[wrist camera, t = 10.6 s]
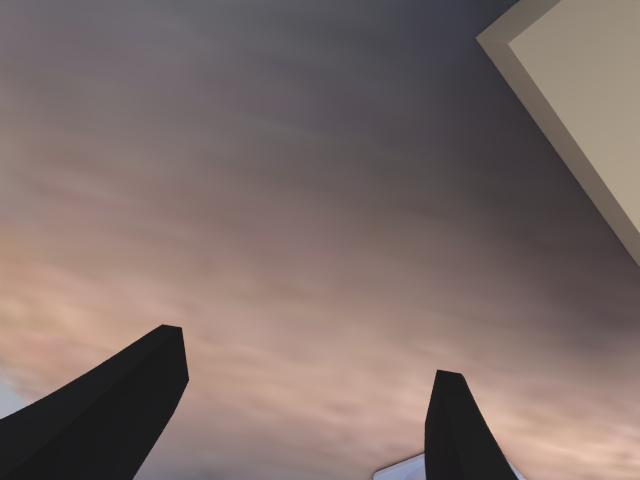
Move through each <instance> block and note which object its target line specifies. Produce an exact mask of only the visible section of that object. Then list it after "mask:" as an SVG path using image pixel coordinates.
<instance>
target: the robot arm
mask: <svg viewBox="0 0 640 480" xmlns="http://www.w3.org/2000/svg"><path fill="white" fill-rule="evenodd" d="M188 381H189V376H188V369H187V361H186V354H185V347H184V340H183V332H182V328H181V327H175V326H169V325H163V324H162V325H161V326H159V327H157V328H156V329H154V330H152V331H151V332H149V333H148V334H146V335H145V336H143V337H142V338H140V339H139V340H137V341H136V342H134V343H132V344H131V345H129V346H128V347H126V348H125V349H123V350H122V351H120V352H119V353H117V354H116V355H114V356H112V357H111V358H109V359H108V360H106V361H105V362H103V363H102V364H100V365H98V366H97V367H95V368H94V369H92V370H90V371H89V372H87V373H85V374H84V375H82V376H80V377H79V378H77V379H75V380H73V381H72V382H70V383H68V384H67V385H65V386H63V387H62V388H60V389H58V390H57V391H55V392H53V393H51V394H49V395H48V396H46V397H44V398H42V399H40V400H38V401H36V402H35V403H33V404H31V405H29V406H27V407H25V408H23V409H21V410H19V411H17V412H15V413H13V414H11V415H9V416H7V417H5V418H3V419H0V480H132V479H133V478H134V476H135V475H136V473H137V471H138V470H139V468H140V467H141V465H142V463H143V462H144V460H145V459H146V457H147V456H148V454H149V452H150V451H151V449H152V448H153V446H154V444H155V443H156V441H157V440H158V438H159V436H160V435H161V433H162V431H163V430H164V428H165V427H166V425H167V423H168V422H169V420H170V418H171V417H172V415H173V413H174V411H175V409H176V407H177V405H178V403H179V401H180V399H181V397H182V395H183V392H184V390H185V388H186V386H187V383H188ZM373 480H526V479H525V478H524V477H523V476H522V475H521V474H520V473H519V472H518V471H517V470H516V469H515V468H514V466H513V465H512V464H511V463H510V462H509V461H508V460H507V459H506V458H505V456H504V455H503V453H502V451H501V449H500V447H499V446H498V444H497V442H496V440H495V439H494V437H493V435H492V433H491V431H490V430H489V428H488V426H487V424H486V422H485V420H484V418H483V416H482V414H481V412H480V410H479V408H478V406H477V404H476V402H475V400H474V398H473V396H472V394H471V392H470V389H469V387H468V385H467V383H466V380H465V378H464V377H463V375H462V374H461V373H455V372H449V371H442V370H437V372H436V377H435V381H434V386H433V390H432V394H431V399H430V403H429V408H428V412H427V416H426V421H425V451H424V454H421V455H419V456H416V457H413V458H411V459H408V460H406V461H403V462H401V463H398V464H396V465H393V466H390V467H388V468H385V469H383V470H380V471H378V472H376V473H374V475H373Z"/></svg>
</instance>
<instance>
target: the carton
mask: <svg viewBox="0 0 640 480" xmlns="http://www.w3.org/2000/svg"><path fill="white" fill-rule="evenodd" d="M476 40H477V41H478V42H479V44H480V45H481V47H482V48H483V49H484V51H485V52H486V54H487V55H488V56H489V58H490V59H491V61H492V62H493V63H494V65H495V66H496V68H497V69H498V70H499V72H500V73H501V75H502V76H503V77H504V79H505V80H506V82H507V83H508V84H509V86H510V87H511V89H512V90H513V91H514V93H515V94H516V96H517V97H518V98H519V100H520V101H521V103H522V104H523V105H524V107H525V108H526V110H527V111H528V112H529V114H530V115H531V117H532V118H533V119H534V121H535V122H536V124H537V125H538V126H539V128H540V129H541V131H542V132H543V133H544V135H545V136H546V138H547V139H548V140H549V142H550V143H551V145H552V146H553V147H554V149H555V150H556V152H557V153H558V154H559V156H560V157H561V159H562V160H563V161H564V163H565V164H566V166H567V167H568V168H569V170H570V171H571V173H572V174H573V175H574V177H575V178H576V180H577V181H578V182H579V184H580V185H581V187H582V188H583V189H584V191H585V192H586V194H587V195H588V196H589V198H590V199H591V201H592V202H593V203H594V205H595V206H596V208H597V209H598V210H599V212H600V213H601V215H602V216H603V217H604V219H605V220H606V222H607V223H608V224H609V226H610V227H611V229H612V230H613V231H614V233H615V234H616V236H617V237H618V238H619V240H620V241H621V243H622V244H623V245H624V247H625V248H626V250H627V251H628V252H629V254H630V255H631V257H632V258H633V259H634V261H635V262H636V264H637V265H638V266H639V267H640V0H519V1H518V2H517V3H516V4H514V5H513V6H512V7H511V8H510V9H509V10H507V11H506V12H505V13H504V14H503V15H501V16H500V17H499V18H498V19H497V20H496V21H494V22H493V23H492V24H491V25H490V26H489V27H487V28H486V29H485V30H484V31H483V32H481V33H480V34H479V35H478V36H477V37H476Z"/></svg>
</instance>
